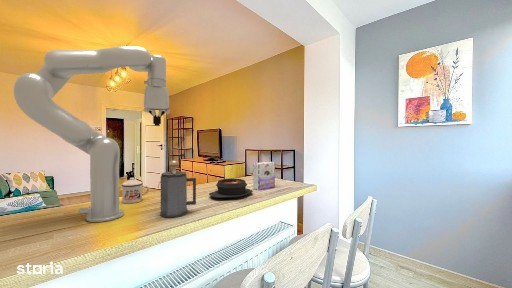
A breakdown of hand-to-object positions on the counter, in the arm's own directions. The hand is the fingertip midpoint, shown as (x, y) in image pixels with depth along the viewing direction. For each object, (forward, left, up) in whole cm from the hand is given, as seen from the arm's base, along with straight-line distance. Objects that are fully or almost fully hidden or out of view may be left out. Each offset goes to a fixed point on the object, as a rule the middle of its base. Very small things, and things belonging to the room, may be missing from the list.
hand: (157, 125), depth 102 cm
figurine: (+3, +9, -37) cm, 38 cm away
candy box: (+59, +27, -37) cm, 75 cm away
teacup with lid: (-12, +14, -37) cm, 42 cm away
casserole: (+36, +13, -37) cm, 54 cm away
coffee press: (+10, -10, -37) cm, 40 cm away
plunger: (+8, -10, -35) cm, 38 cm away
